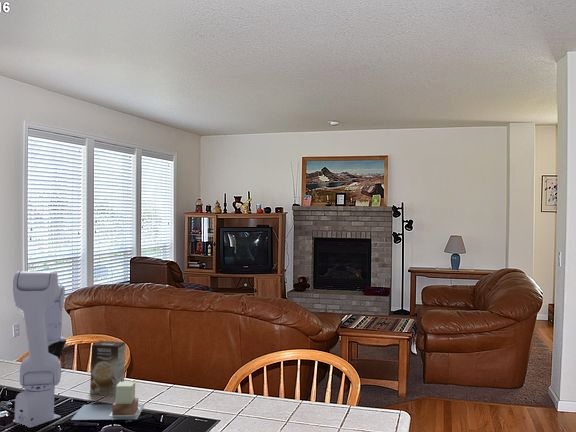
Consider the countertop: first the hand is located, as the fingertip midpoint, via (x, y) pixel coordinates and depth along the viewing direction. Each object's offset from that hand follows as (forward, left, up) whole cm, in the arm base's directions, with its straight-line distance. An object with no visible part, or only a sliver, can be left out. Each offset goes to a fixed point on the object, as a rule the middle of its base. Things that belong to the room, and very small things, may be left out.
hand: (50, 367), depth 159 cm
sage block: (+6, -26, -7) cm, 28 cm away
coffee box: (+16, -7, -11) cm, 20 cm away
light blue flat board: (+4, -22, -10) cm, 25 cm away
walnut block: (+6, -26, -10) cm, 29 cm away
